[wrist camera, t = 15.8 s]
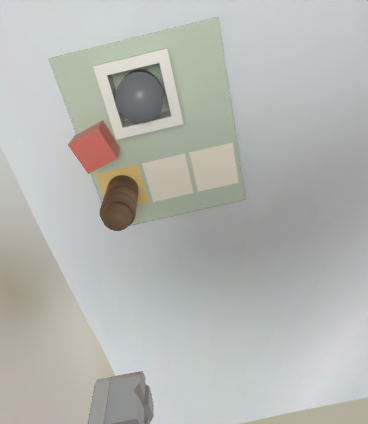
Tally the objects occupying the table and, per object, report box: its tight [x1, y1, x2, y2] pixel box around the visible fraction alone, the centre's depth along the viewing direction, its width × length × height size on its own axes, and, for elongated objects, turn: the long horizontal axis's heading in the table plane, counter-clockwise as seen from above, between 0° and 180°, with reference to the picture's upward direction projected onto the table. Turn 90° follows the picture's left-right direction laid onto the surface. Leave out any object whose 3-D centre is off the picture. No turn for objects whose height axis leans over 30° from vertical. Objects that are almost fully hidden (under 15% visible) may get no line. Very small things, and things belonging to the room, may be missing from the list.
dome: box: [115, 70, 164, 124], centre depth 33 cm, size 4×4×4 cm
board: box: [49, 17, 245, 226], centre depth 38 cm, size 17×20×1 cm
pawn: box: [100, 175, 139, 231], centre depth 37 cm, size 4×4×8 cm
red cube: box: [68, 120, 120, 174], centre depth 36 cm, size 4×4×4 cm
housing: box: [93, 47, 183, 140], centre depth 34 cm, size 7×7×3 cm
